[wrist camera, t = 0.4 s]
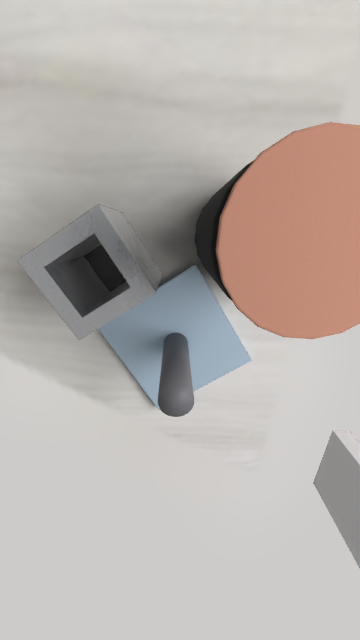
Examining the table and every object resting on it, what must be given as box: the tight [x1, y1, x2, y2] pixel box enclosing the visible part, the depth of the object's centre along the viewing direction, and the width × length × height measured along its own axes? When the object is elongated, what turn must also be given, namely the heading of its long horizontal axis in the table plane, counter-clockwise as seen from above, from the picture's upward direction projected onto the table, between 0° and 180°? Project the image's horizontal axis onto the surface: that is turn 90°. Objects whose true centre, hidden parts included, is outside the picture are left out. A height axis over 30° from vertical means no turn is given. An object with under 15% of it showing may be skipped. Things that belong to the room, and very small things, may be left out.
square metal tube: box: [17, 205, 162, 340], centre depth 27 cm, size 8×8×10 cm
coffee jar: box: [195, 122, 360, 339], centre depth 23 cm, size 11×11×18 cm
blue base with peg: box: [98, 264, 251, 417], centre depth 29 cm, size 14×14×13 cm
